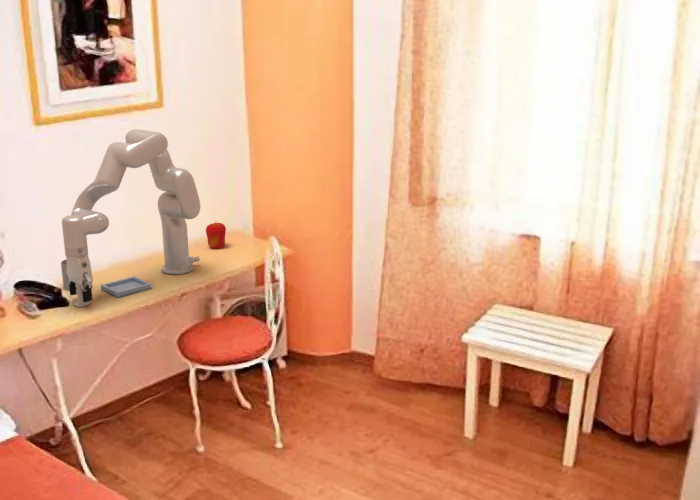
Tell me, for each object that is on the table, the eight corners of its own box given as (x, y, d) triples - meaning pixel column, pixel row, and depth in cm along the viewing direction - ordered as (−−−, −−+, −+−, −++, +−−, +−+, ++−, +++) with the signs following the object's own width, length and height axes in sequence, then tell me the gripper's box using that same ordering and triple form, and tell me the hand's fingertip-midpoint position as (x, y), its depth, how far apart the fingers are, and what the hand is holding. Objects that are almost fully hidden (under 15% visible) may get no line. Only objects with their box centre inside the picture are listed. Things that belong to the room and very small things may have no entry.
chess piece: (93, 303, 287) (90, 278, 284) (83, 308, 282) (80, 283, 280) (81, 301, 289) (78, 277, 286) (71, 306, 284) (68, 281, 281)
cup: (79, 291, 298) (77, 265, 295) (59, 290, 300) (56, 264, 297) (91, 283, 306) (88, 258, 303) (71, 282, 308) (68, 257, 305)
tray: (134, 281, 309) (134, 276, 308) (151, 288, 301) (151, 283, 300) (101, 290, 300) (100, 284, 299) (117, 298, 292) (117, 292, 291)
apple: (218, 243, 356) (217, 217, 353) (230, 247, 351) (229, 220, 348) (202, 247, 350) (201, 221, 347) (215, 251, 345) (213, 224, 342)
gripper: (98, 254, 276) (103, 301, 281) (74, 243, 288) (79, 289, 293) (78, 258, 271) (83, 306, 276) (54, 248, 283) (59, 294, 288)
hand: (81, 297), depth 285 cm, fingers open, 9 cm apart
